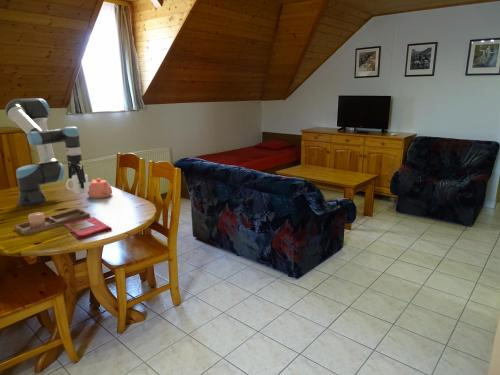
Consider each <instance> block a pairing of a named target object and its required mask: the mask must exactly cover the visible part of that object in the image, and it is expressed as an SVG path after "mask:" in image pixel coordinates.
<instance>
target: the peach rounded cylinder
mask: <svg viewBox="0 0 500 375" xmlns="http://www.w3.org/2000/svg"><path fill="white" fill-rule="evenodd" d="M44 217H45V213H44V212H43V211H41V212H40V211H38V212H32V213H29V214H28V216H27V218H28V222H29V223H30V229H34V228H37V227H41V226H44V225H46V223H45V218H44Z"/></svg>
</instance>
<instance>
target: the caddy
mask: <svg viewBox="0 0 500 375" xmlns="http://www.w3.org/2000/svg"><path fill="white" fill-rule="evenodd" d="M44 218H45V223H46V225H44V226H41V227H37V228H34V229H30V223H29V221H27V222H22V223H17V224H14V229H15V231H17V232H19V233H20V234H22V235H23V236H28V235H32V234H35V233H39V232H43V231H46V230H49V229H54V228H56V227H60V226H65V225H64V223H72V222H76V221H80V220H84V219H88V218H91V216H90V213H89V212H88V211H84V210H82V209H80V208H75V209H71V210H67V211H64V212H60V213H56V214H52V215H49V216H48V215H47V216H44Z"/></svg>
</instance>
